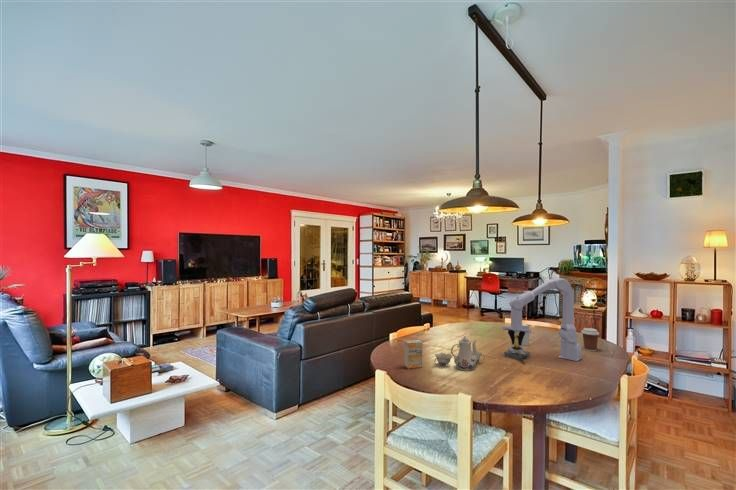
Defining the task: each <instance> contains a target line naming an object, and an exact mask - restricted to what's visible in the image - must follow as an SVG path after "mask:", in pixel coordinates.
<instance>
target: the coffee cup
mask: <svg viewBox="0 0 736 490" xmlns="http://www.w3.org/2000/svg"><path fill="white" fill-rule="evenodd" d="M582 329H583V330H581V332H580V333H581V334H582V340H583V341H582V342H583V349H584V350H585V351H588V352H597V351H598V340H599V339H598V338H599V335H600V332H598V330H597V329H596V328H593V327H592V328H591V327H584V328H582Z"/></svg>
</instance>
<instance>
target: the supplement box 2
mask: <svg viewBox="0 0 736 490" xmlns="http://www.w3.org/2000/svg"><path fill="white" fill-rule="evenodd" d="M522 328H526V329H530V326H529V325H528V324H527V323H525V322H522ZM519 333H520V332H517V331H515V333H514V335H516V334H519ZM524 346H527V347H528V346H530V333H525V335H524V337H523V340H522V345H521V346H520V347H524Z"/></svg>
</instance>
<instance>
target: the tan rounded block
mask: <svg viewBox="0 0 736 490" xmlns="http://www.w3.org/2000/svg"><path fill="white" fill-rule="evenodd" d="M513 346H514V349H517V350H520V347H521V346H520V345H519V334H516V335H514V344H513Z"/></svg>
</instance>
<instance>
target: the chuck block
mask: <svg viewBox="0 0 736 490" xmlns="http://www.w3.org/2000/svg"><path fill="white" fill-rule="evenodd" d="M503 355H504V356H503V357H505V358H509V359H510V358H511V359H515V360H520V361H524V360H525V359H523V358H521V357H520V356H519V355H518V354H517V353H511V352H510V351H509V350H506V351H504V354H503ZM525 355H526V356H527V358H530V356H531V352H530V351H527V350H526V354H525Z"/></svg>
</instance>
